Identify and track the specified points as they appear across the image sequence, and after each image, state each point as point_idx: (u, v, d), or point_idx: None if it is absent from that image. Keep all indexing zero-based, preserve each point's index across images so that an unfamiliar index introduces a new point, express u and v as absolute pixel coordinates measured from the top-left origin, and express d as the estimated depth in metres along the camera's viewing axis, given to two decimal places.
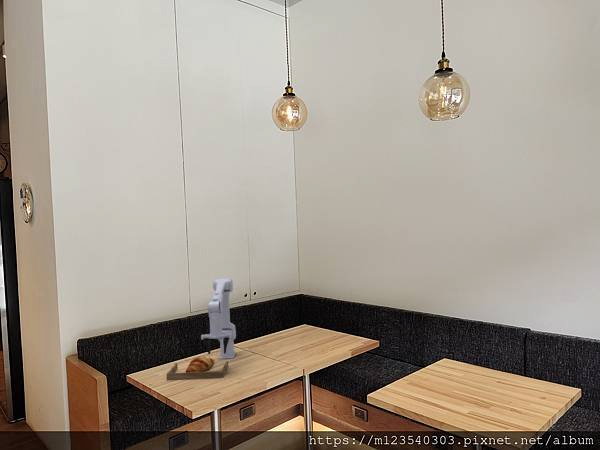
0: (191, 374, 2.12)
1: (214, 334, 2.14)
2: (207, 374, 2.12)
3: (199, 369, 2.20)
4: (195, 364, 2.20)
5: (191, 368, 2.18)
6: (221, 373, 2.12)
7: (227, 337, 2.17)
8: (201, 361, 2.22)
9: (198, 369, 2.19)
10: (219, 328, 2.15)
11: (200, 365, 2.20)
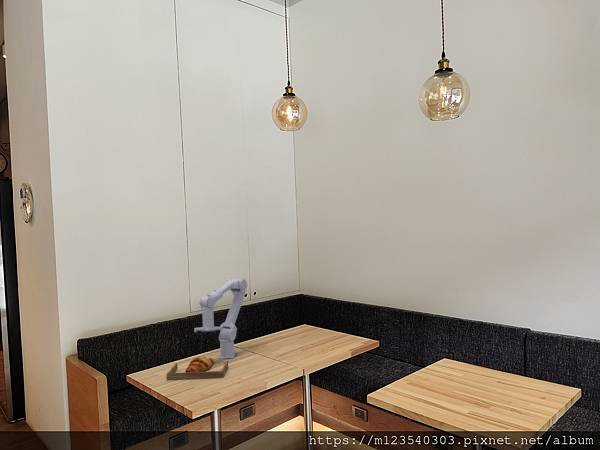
0: (191, 374, 2.12)
1: (206, 327, 2.31)
2: (207, 374, 2.12)
3: (199, 369, 2.20)
4: (195, 364, 2.20)
5: (191, 368, 2.18)
6: (221, 373, 2.12)
7: (218, 330, 2.33)
8: (201, 361, 2.22)
9: (198, 369, 2.19)
10: (211, 321, 2.32)
11: (200, 365, 2.21)
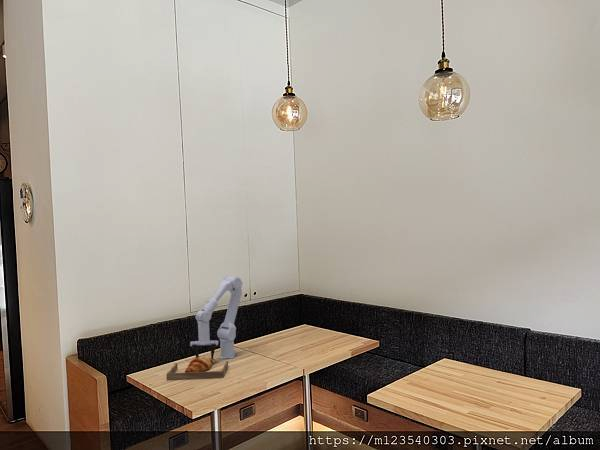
0: (191, 374, 2.12)
1: (202, 341, 2.32)
2: (207, 374, 2.12)
3: (198, 369, 2.20)
4: (194, 364, 2.20)
5: (190, 368, 2.18)
6: (221, 373, 2.12)
7: (214, 344, 2.34)
8: (200, 361, 2.22)
9: (198, 369, 2.19)
10: (207, 335, 2.33)
11: (199, 365, 2.20)
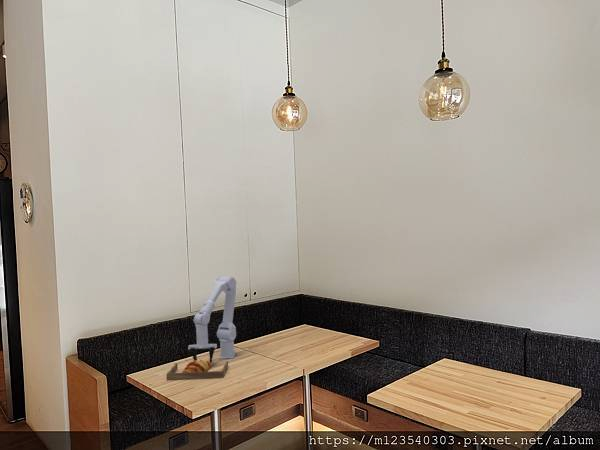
0: (191, 374, 2.12)
1: (200, 344, 2.28)
2: (207, 374, 2.12)
3: None
4: (191, 368, 2.17)
5: (186, 372, 2.14)
6: (221, 373, 2.12)
7: (213, 347, 2.30)
8: (197, 365, 2.18)
9: None
10: (205, 339, 2.29)
11: (196, 369, 2.17)
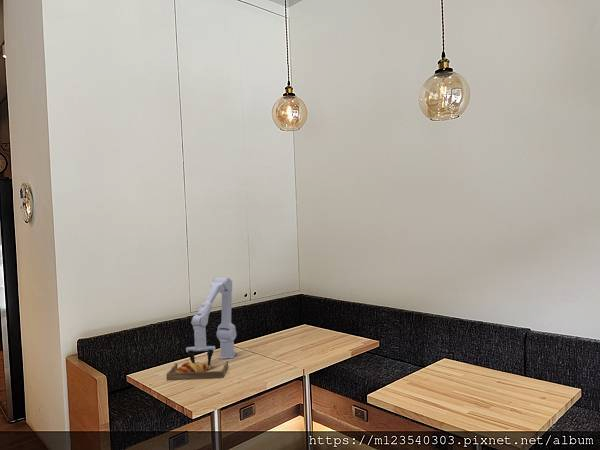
0: (191, 374, 2.12)
1: (198, 347, 2.23)
2: (207, 374, 2.12)
3: None
4: (181, 369, 2.15)
5: (176, 372, 2.14)
6: (221, 373, 2.12)
7: (211, 350, 2.26)
8: (188, 367, 2.16)
9: None
10: (203, 341, 2.24)
11: (186, 371, 2.14)
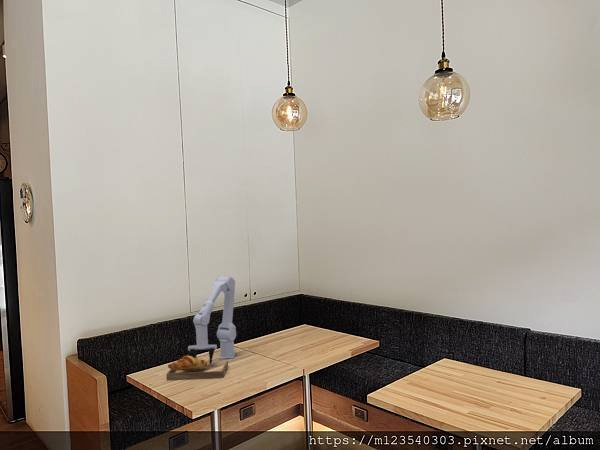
0: (191, 374, 2.12)
1: (200, 345, 2.27)
2: (207, 374, 2.12)
3: (181, 364, 2.16)
4: (179, 360, 2.18)
5: (173, 363, 2.16)
6: (221, 373, 2.12)
7: (213, 348, 2.29)
8: (186, 357, 2.19)
9: (181, 364, 2.16)
10: (205, 340, 2.28)
11: (183, 360, 2.17)
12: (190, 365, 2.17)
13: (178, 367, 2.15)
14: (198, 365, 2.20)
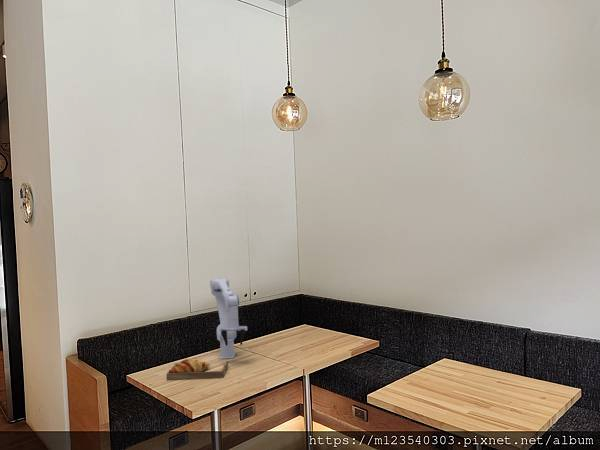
0: (191, 374, 2.12)
1: (231, 327, 2.29)
2: (207, 374, 2.12)
3: (183, 372, 2.14)
4: (180, 366, 2.15)
5: (175, 369, 2.14)
6: (221, 373, 2.12)
7: (243, 329, 2.32)
8: (187, 364, 2.16)
9: (182, 371, 2.14)
10: (236, 321, 2.30)
11: (185, 368, 2.15)
12: None
13: None
14: (199, 371, 2.19)
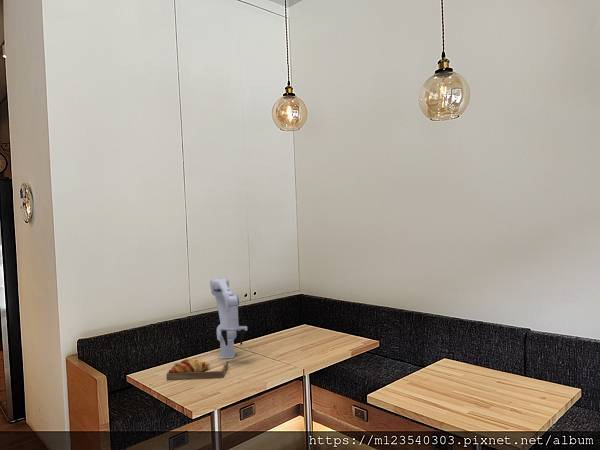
0: (191, 374, 2.12)
1: (231, 327, 2.29)
2: (207, 374, 2.12)
3: (183, 372, 2.14)
4: (180, 366, 2.15)
5: (175, 369, 2.14)
6: (221, 373, 2.12)
7: (243, 329, 2.32)
8: (187, 364, 2.16)
9: (182, 371, 2.14)
10: (236, 321, 2.30)
11: (185, 368, 2.15)
12: None
13: None
14: (199, 371, 2.19)
